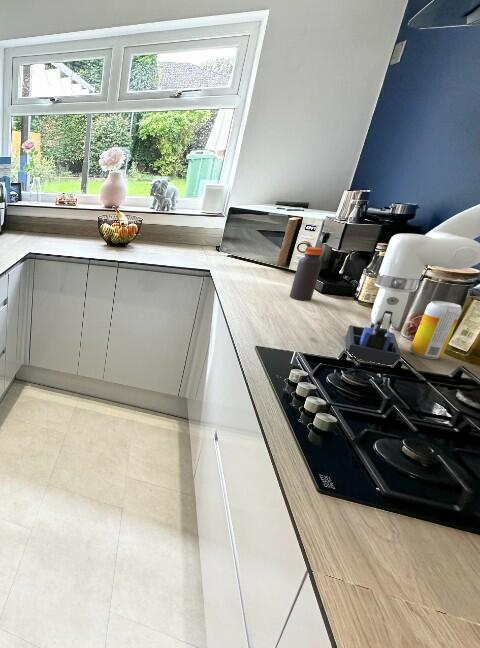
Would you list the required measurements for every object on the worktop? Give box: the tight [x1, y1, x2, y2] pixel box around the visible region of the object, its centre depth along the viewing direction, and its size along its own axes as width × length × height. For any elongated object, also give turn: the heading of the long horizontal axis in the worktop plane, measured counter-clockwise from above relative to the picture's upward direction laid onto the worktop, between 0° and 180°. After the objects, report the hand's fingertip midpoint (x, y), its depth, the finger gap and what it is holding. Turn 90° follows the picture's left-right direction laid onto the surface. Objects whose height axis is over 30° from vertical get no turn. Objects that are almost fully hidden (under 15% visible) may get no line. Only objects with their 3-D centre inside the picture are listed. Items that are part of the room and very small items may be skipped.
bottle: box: [289, 246, 323, 301], centre depth 154 cm, size 7×7×20 cm
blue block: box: [359, 326, 392, 351], centre depth 108 cm, size 5×5×5 cm
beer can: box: [409, 300, 463, 360], centre depth 108 cm, size 6×6×15 cm
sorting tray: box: [345, 324, 401, 366], centre depth 112 cm, size 10×18×4 cm, turn 138°
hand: (372, 345), depth 109 cm, fingers closed on blue block, 5 cm apart
